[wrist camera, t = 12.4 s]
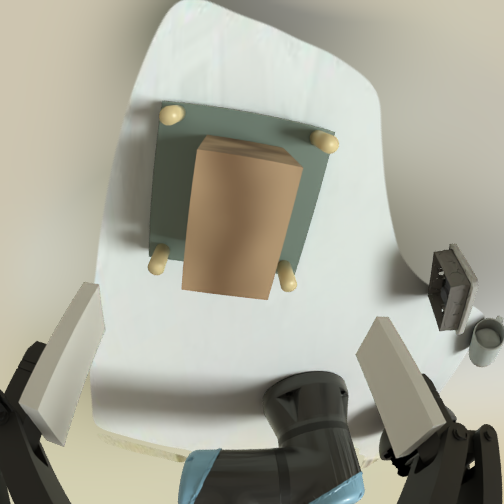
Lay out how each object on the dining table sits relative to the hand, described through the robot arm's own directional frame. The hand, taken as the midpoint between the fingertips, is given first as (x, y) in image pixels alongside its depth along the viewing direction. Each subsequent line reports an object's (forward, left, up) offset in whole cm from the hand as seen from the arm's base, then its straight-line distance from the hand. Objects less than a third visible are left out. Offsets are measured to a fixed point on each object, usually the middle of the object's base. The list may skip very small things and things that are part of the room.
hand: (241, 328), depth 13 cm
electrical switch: (-30, +6, -19) cm, 36 cm away
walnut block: (0, 0, -17) cm, 17 cm away
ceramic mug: (-54, +17, -19) cm, 59 cm away
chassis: (0, 0, -19) cm, 19 cm away
